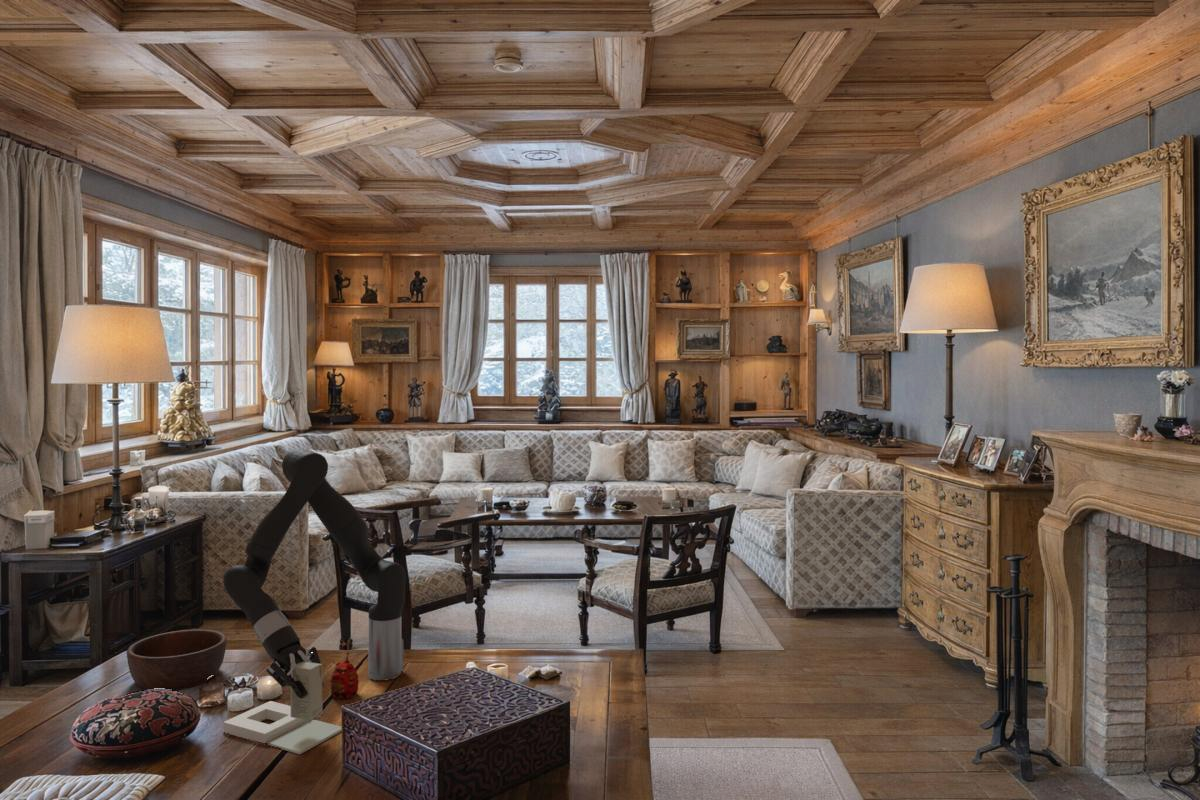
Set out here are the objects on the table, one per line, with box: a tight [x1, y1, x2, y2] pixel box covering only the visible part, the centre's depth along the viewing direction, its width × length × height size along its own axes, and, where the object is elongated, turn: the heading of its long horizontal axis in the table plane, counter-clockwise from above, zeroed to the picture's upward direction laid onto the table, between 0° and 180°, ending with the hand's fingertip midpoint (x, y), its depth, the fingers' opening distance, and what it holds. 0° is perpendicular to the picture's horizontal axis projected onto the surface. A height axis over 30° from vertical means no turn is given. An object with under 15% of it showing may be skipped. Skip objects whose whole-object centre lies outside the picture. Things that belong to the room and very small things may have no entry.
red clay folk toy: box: [329, 637, 360, 700], centre depth 209 cm, size 8×7×15 cm
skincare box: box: [289, 662, 324, 721], centre depth 183 cm, size 6×4×12 cm
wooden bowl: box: [126, 628, 228, 691], centre depth 219 cm, size 25×25×10 cm
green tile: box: [267, 719, 342, 755], centre depth 184 cm, size 14×10×1 cm
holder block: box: [222, 700, 312, 743], centre depth 189 cm, size 14×14×2 cm
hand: (312, 692), depth 183 cm, fingers closed on skincare box, 4 cm apart
